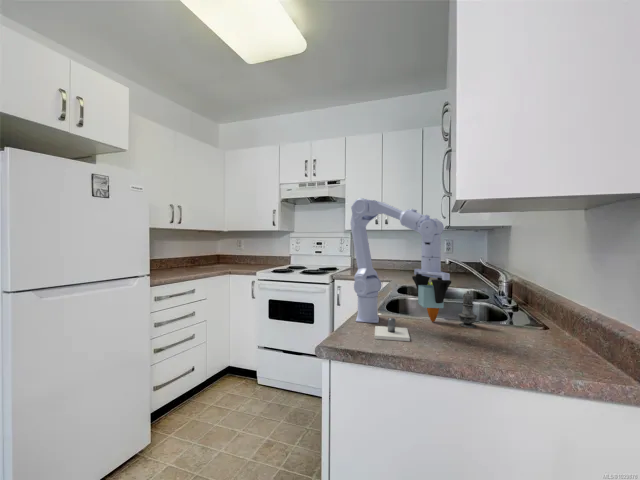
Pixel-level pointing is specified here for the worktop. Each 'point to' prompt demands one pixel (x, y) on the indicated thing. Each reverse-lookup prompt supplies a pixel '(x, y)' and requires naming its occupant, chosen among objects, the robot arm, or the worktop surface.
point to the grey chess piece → (467, 312)
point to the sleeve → (428, 297)
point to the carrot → (432, 311)
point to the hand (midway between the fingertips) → (430, 300)
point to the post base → (391, 332)
